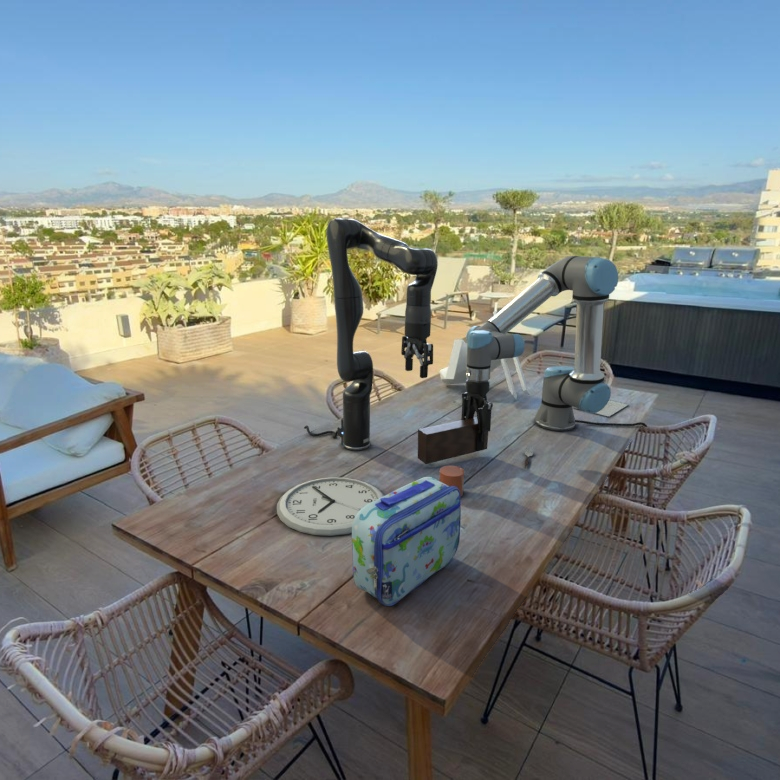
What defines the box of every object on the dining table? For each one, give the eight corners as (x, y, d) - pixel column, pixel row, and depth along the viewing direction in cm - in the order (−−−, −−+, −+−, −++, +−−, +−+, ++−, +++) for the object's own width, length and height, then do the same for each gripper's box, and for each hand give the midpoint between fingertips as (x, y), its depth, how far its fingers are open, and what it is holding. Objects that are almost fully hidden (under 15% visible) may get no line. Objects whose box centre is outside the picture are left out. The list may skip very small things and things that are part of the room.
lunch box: (381, 619, 101) (382, 525, 95) (345, 592, 109) (344, 503, 102) (464, 563, 119) (469, 480, 113) (428, 543, 126) (432, 464, 120)
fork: (520, 469, 166) (521, 463, 165) (526, 450, 180) (526, 444, 180) (528, 470, 165) (529, 464, 164) (533, 451, 179) (534, 445, 179)
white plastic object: (461, 429, 252) (437, 405, 227) (444, 352, 274) (420, 323, 250) (535, 404, 240) (518, 377, 215) (510, 326, 262) (492, 293, 237)
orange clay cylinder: (462, 487, 154) (464, 466, 152) (463, 499, 147) (464, 477, 145) (438, 486, 154) (439, 464, 152) (438, 497, 148) (439, 475, 146)
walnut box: (478, 443, 178) (479, 416, 174) (487, 449, 173) (489, 421, 170) (417, 458, 167) (417, 429, 164) (425, 464, 163) (426, 434, 159)
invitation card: (608, 416, 214) (573, 407, 224) (608, 416, 214) (573, 408, 224) (628, 404, 229) (594, 396, 238) (628, 405, 229) (594, 397, 238)
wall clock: (392, 527, 129) (268, 531, 127) (391, 533, 130) (269, 537, 127) (383, 473, 158) (282, 475, 155) (383, 478, 158) (282, 480, 156)
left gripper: (394, 317, 155) (393, 369, 160) (419, 325, 144) (417, 381, 148) (416, 315, 159) (414, 367, 164) (442, 323, 147) (439, 378, 152)
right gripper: (451, 374, 172) (449, 439, 180) (486, 388, 157) (482, 459, 164) (470, 371, 176) (467, 435, 183) (505, 385, 161) (500, 454, 168)
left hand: (416, 374), depth 156 cm, fingers open, 8 cm apart
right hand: (474, 446), depth 174 cm, fingers closed on walnut box, 5 cm apart
